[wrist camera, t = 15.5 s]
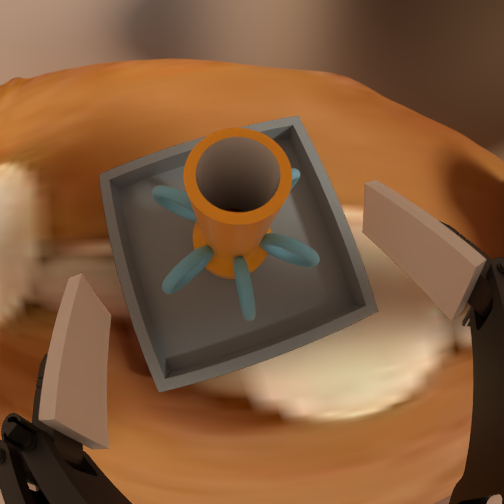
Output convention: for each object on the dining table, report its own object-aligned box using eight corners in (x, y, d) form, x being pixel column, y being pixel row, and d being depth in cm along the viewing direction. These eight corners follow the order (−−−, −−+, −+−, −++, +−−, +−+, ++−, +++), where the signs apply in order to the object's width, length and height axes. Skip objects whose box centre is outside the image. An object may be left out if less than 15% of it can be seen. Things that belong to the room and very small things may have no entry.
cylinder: (301, 302, 24) (399, 306, 10) (186, 324, 23) (125, 364, 8) (274, 175, 26) (320, 61, 11) (166, 192, 25) (112, 85, 10)
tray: (291, 133, 28) (298, 115, 25) (360, 310, 26) (378, 311, 22) (112, 188, 25) (98, 174, 22) (167, 380, 23) (158, 392, 20)
